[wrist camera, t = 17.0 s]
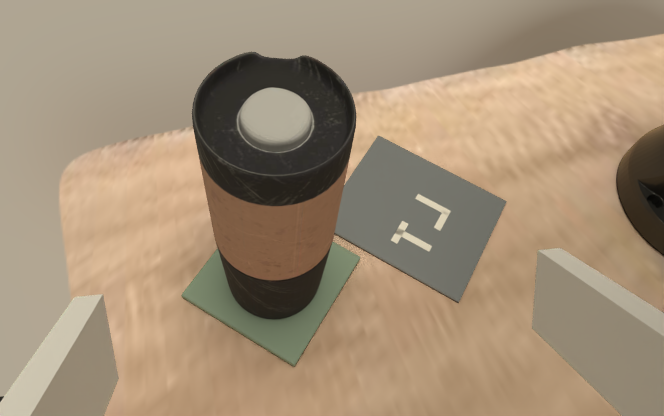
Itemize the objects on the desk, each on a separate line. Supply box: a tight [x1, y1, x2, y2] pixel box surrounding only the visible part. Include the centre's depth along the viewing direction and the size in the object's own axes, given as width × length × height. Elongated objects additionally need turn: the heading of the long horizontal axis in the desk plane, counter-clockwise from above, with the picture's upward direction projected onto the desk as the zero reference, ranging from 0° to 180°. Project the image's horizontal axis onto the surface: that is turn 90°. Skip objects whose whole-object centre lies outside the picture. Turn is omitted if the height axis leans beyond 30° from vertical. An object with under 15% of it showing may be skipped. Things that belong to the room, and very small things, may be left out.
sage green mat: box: [182, 241, 360, 367], centre depth 42 cm, size 10×10×1 cm
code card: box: [334, 136, 507, 303], centre depth 46 cm, size 13×11×1 cm
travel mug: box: [192, 52, 356, 319], centre depth 33 cm, size 8×8×20 cm
